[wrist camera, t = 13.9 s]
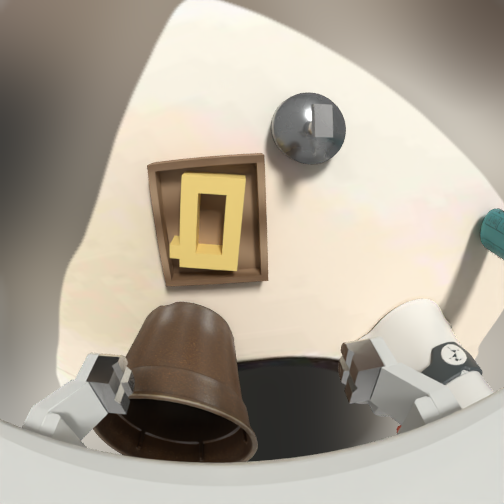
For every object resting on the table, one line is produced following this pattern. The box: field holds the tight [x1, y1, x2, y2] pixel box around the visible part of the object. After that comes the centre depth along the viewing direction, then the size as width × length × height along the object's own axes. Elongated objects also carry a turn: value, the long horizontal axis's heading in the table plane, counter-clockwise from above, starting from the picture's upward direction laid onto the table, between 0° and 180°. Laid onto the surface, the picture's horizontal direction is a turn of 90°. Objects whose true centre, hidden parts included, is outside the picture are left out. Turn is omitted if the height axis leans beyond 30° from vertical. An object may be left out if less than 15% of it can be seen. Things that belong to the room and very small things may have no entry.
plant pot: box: [93, 302, 258, 463], centre depth 29 cm, size 16×16×16 cm
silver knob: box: [271, 93, 346, 164], centre depth 24 cm, size 7×7×6 cm
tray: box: [147, 153, 268, 287], centre depth 29 cm, size 13×11×2 cm
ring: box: [170, 171, 246, 271], centre depth 28 cm, size 7×9×3 cm
